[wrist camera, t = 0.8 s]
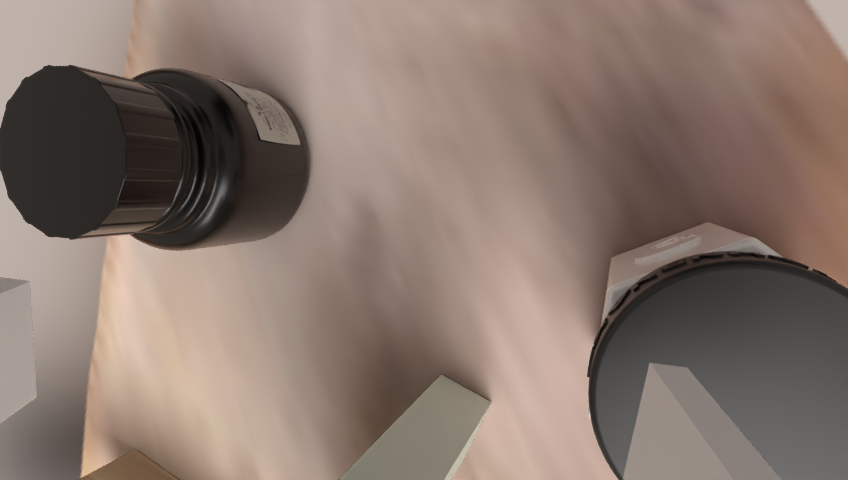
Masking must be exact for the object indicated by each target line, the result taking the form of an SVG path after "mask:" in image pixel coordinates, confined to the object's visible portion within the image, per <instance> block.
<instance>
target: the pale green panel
mask: <svg viewBox="0 0 848 480" xmlns="http://www.w3.org/2000/svg"><path fill="white" fill-rule="evenodd" d="M490 404H491V402H490V401H488V400H487V399H485V398H483V397H481V396H479V395H478V394H476V393H474V392H472V391H470V390H469V389H467V388H465V387H463V386H461V385H460V384H458V383H456V382H454V381H452V380H451V379H449V378H447V377H445V376H443V375H442V374H441V375H440V376H439V377H438V378H437V379H436V380H435V381H434V382H433V383H432V384H431V385H430V386H429V387H428V388H427V389H426V390H425V392H424V393H423V394H422V395H421V396H420V397H419V398H418V399H417V400H416V401H415V402H414V403H413V404H412V405H411V406H410V407H409V408H408V409H407V410H406V411H405V412H404V413H403V414H402V415H401V416H400V417H399V418H398V419H397V420H396V421H395V422H394V423H393V424H392V425H391V426H390V427H389V428H388V429H387V430H386V431H385V432H384V433H383V434H382V435H381V436H380V437H379V439H378V440H377V441H376V442H375V443H374V444H373V445H372V446H371V447H370V448H369V449H368V450H367V451H366V452H365V453H364V454H363V455H362V456H361V457H360V458H359V459H358V460H357V461H356V462H355V463H354V464H353V465H352V466H351V467H350V468H349V469H348V470H347V471H346V472H345V473H344V474H343V475H342V476H341V477H340V478H339V479H338V480H452V478H453V476H454V474H455V473H456V471H457V469H458V468H459V466H460V464H461V462H462V461H463V459H464V457H465V456H466V454H467V452H468V450H469V448H470V446H471V444H472V442H473V440H474V437H475V435H476V433H477V431H478V429H479V427H480V425H481V423H482V421H483V419H484V417H485V415H486V413H487V410H488V408H489V406H490Z"/></svg>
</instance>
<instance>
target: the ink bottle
mask: <svg viewBox="0 0 848 480" xmlns="http://www.w3.org/2000/svg"><path fill="white" fill-rule="evenodd" d="M0 171H1V172H2V176H3V179H4V182H5V186H6V189H7V194H8V197H9V199H10V200H11V201H12V202H13V203H14V205H15V206H16V208H17V209H18V210H19V212H20V213H21V215H22V216H23V219H24V220H25V221H26V222H27V223H28V224H31V225H33V226H34V227H36V228H37V229H39V230H40V231H42V232H43V233H44V234H45V235H47V236H48V237H61V238H69V239H71V240H73V239H83V238H95V237H107V236H118V235H129V234H130V235H131V236H132V237H134V238H135V239H137V240H139V241H141V242H142V243H145V244H147V245H149V246H152V247H155V248H159V249H164V250H176V251H178V250H191V249H199V248H206V247H213V246H221V245H228V244H235V243H243V242H250V241H256V240H260V239H263V238H266V237H268V236H271V235H273V234H275V233H276V232H278V231H279V230H281V229H282V228H283V227H284V226H285V225H286V224H287V223H288V222H289V221H290V220H291V219H292V217H293V216H294V215H295V213H296V211H297V210H298V208H299V206H300V204H301V201H302V199H303V196H304V193H305V190H306V185H307V180H308V171H309V159H308V149H307V144H306V140H305V137H304V134H303V131H302V129H301V126H300V124H299V123H298V121H297V119H296V118H295V116H294V115H293V114H292V112H291V111H290V110H289V109H288V108H287V107H286V106H285V105H284V104H283V103H281V102H280V101H279V100H277V99H276V98H274V97H273V96H271V95H269V94H267V93H265V92H262V91H260V90H257V89H254V88H250V87H247V86H243V85H239V84H236V83H232V82H229V81H225V80H222V79H218V78H215V77H211V76H208V75H204V74H200V73H196V72H193V71H189V70H184V69H176V68H163V69H155V70H151V71H148V72H145V73H142V74H140V75H138V76H136V77H134V78H132V79H129V78H125V77H120V76H116V75H111V74H107V73H103V72H99V71H94V70H90V69H86V68H81V67H77V66H73V65H69V66H50V65H48V66H44V67H43V69H41V70H39V71H38V72H36V73H34V74H33V75H31V76H29V77H26V78H24V79H23V80H22V82H21V84H20V86H19V87H18V89H17V90H16V91H15V93H14V94H13V96H12V97H11V99H9V100H8V102H7V104H6V110H5V113H4V117H3V121H2V124H1V128H0Z"/></svg>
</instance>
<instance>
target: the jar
mask: <svg viewBox="0 0 848 480" xmlns="http://www.w3.org/2000/svg"><path fill="white" fill-rule="evenodd" d="M808 268H809V267H808V266H806V265H803V264H801V263H798V262H795V261H792V260H789V259H786V258H784V257H782V256H781V255H779V254H778V253H777V252H775V251H774V250H772V249H771V248H769V247H768V246H767V245H765V244H764V243H762V242H761V241H760V240H758V239H757V238H754V237H751V236H748V235H745V234H742V233H739V232H736V231H734V230H731V229H728V228H725V227H722V226H719V225H716V224H713V223H710V222H707V223H703V224H701V225H698V226H695V227H692V228H690V229H687V230H684V231H682V232H679V233H676V234H673V235H671V236H668V237H665V238H662V239H660V240H657V241H654V242H651V243H649V244H646V245H643V246H641V247H638V248H635V249H632V250H630V251H627V252H624V253H621V254H619V255H616V256H614V257H612V258H611V261H610V267H609V273H608V280H607V286H606V293H605V299H604V306H603V312H602V319H601V325H600V330H599V332H598V333H597V335H596V338H595V340H594V343H593V344H594V346H593V347H592V351H591V355H590V361H589V366H588V374H587V377H590V378H589V391H588V394H589V408H588V416H589V418H590V420H591V422H592V426H593V430H594V433H595V436H596V439H597V442H598V444H599V447H600V449H601V451H602V453H603V455H604V457H605V459H606V461H607V463H608V464H609V466H610V468H611V469H612V471H613V472H614V474H615V475H616V477H617V478H618V479H619V480H623V476H624V471H625V467H626V463H627V458H628V454H629V450H630V445H631V441H632V437H633V432H634V428H635V424H636V419H637V415H638V411H639V406H640V402H641V398H642V393H643V389H644V385H645V380H646V376H647V372H648V367H649V363H656V364H664V365H671V366H679V367H687V368H688V369H689V370H690V372H691V373H692V374H693V375H694V376H695V378H696V379H697V380H698V381H699V382H700V384H701V385H702V386H703V387H704V388H705V389H706V391H707V392H708V393H709V394H710V395H711V397H712V398H713V399H714V400H715V401H716V403H717V404H718V405H719V406H720V407H721V408H722V410H723V411H724V412H725V413H726V414H727V416H728V417H729V418H730V419H731V420H732V422H733V423H734V424H735V425H736V426H737V428H738V429H739V430H740V431H741V432H742V433H743V435H744V436H745V437H746V438H747V439H748V441H749V442H750V443H751V444H752V445H753V447H754V448H755V449H756V450H757V451H758V452H759V454H760V455H761V456H762V457H763V458H764V460H765V461H766V462H767V463H768V464H769V466H770V467H771V468H772V469H773V470H774V471H775V473H776V474H777V475H778V476H779V477H780V479H781V480H848V289H847V288H846V287H844V286H842V285H840V284H839V283H837V282H836V281H835V280H833V279H832V278H830V277H828V276H827V275H826V274H824V273H822V272H820V271H818V270H815V269H813V270H812V271H810V270H808Z"/></svg>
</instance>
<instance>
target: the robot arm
mask: <svg viewBox="0 0 848 480" xmlns="http://www.w3.org/2000/svg"><path fill="white" fill-rule="evenodd" d="M36 397H37V395H36V378H35V360H34V343H33V325H32V307H31V290H30V281H25V280H17V279H10V278H1V277H0V423H1V422H2V421H4V420H5V419H7V418H8V417H9V416H11V415H12V414H14V413H15V412H16V411H18V410H19V409H21V408H22V407H24V406H25V405H26V404H28V403H29V402H31V401H32V400H34V399H35V398H36ZM623 480H781V479H780V477H779V476H778V475H777V474H776V473H775V471H774V470H773V469H772V468H771V467H770V466H769V464H768V463H767V462H766V461H765V460H764V458H763V457H762V456H761V455H760V454H759V452H758V451H757V450H756V449H755V448H754V447H753V445H752V444H751V443H750V442H749V441H748V439H747V438H746V437H745V436H744V435H743V433H742V432H741V431H740V430H739V429H738V428H737V426H736V425H735V424H734V423H733V422H732V420H731V419H730V418H729V417H728V416H727V414H726V413H725V412H724V411H723V410H722V408H721V407H720V406H719V405H718V404H717V403H716V401H715V400H714V399H713V398H712V397H711V395H710V394H709V393H708V392H707V391H706V389H705V388H704V387H703V386H702V385H701V384H700V382H699V381H698V380H697V379H696V378H695V376H694V375H693V374H692V373H691V372H690V370H689V369H688V368H687V367H679V366H671V365H664V364H656V363H649V367H648V372H647V376H646V380H645V385H644V389H643V393H642V398H641V402H640V406H639V411H638V415H637V419H636V424H635V428H634V432H633V437H632V441H631V445H630V450H629V454H628V458H627V463H626V467H625V471H624V476H623Z"/></svg>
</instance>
